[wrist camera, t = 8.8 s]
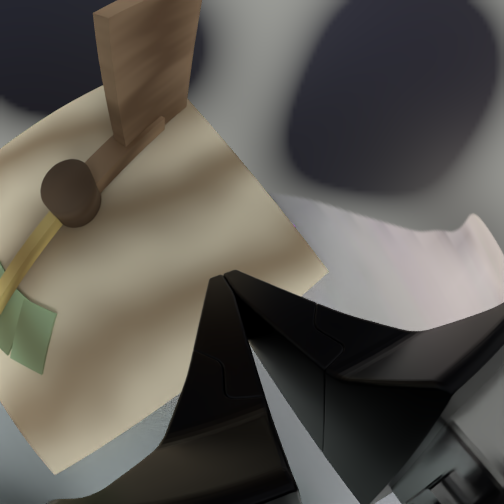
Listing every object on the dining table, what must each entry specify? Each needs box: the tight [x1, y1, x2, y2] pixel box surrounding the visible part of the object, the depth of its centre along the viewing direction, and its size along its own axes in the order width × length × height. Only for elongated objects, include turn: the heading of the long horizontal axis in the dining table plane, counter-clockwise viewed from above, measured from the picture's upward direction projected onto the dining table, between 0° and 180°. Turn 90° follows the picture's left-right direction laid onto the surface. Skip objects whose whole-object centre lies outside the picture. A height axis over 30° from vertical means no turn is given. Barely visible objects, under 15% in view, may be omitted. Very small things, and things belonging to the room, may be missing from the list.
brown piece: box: [0, 0, 202, 314], centre depth 11 cm, size 18×3×10 cm, turn 147°
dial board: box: [0, 85, 329, 475], centre depth 15 cm, size 20×21×1 cm
